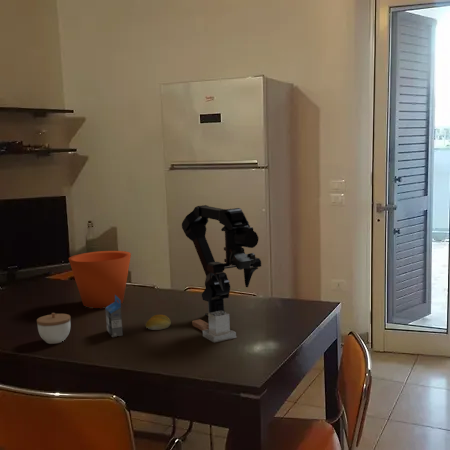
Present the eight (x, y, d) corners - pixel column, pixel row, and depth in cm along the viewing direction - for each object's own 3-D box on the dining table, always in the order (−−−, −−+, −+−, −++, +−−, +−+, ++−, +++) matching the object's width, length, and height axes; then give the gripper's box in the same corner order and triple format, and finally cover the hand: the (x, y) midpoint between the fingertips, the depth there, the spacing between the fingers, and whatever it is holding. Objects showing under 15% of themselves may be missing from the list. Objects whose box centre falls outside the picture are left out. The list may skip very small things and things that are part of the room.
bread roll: (143, 331, 201) (142, 319, 200) (151, 323, 209) (150, 312, 209) (166, 331, 199) (166, 319, 199) (173, 323, 208) (172, 312, 208)
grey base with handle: (186, 326, 203) (185, 312, 202) (206, 322, 206) (206, 308, 206) (214, 342, 184) (213, 327, 184) (236, 338, 188) (235, 323, 187)
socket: (209, 330, 190) (208, 313, 189) (222, 328, 193) (221, 310, 192) (216, 334, 186) (215, 316, 185) (229, 332, 188) (229, 313, 187)
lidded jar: (54, 347, 186) (51, 319, 185) (31, 343, 192) (29, 315, 191) (79, 338, 195) (76, 310, 194) (56, 334, 201) (54, 307, 200)
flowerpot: (146, 299, 244) (143, 252, 242) (104, 314, 223) (100, 263, 221) (102, 293, 258) (99, 249, 255) (59, 307, 237) (55, 259, 235)
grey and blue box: (106, 330, 202) (103, 295, 201) (117, 329, 204) (115, 294, 202) (111, 337, 194) (109, 301, 192) (123, 335, 195) (121, 299, 194)
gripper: (219, 251, 190) (221, 297, 192) (269, 244, 199) (270, 289, 201) (205, 246, 200) (207, 291, 202) (252, 240, 208) (254, 283, 210)
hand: (235, 289), depth 204 cm, fingers open, 9 cm apart
